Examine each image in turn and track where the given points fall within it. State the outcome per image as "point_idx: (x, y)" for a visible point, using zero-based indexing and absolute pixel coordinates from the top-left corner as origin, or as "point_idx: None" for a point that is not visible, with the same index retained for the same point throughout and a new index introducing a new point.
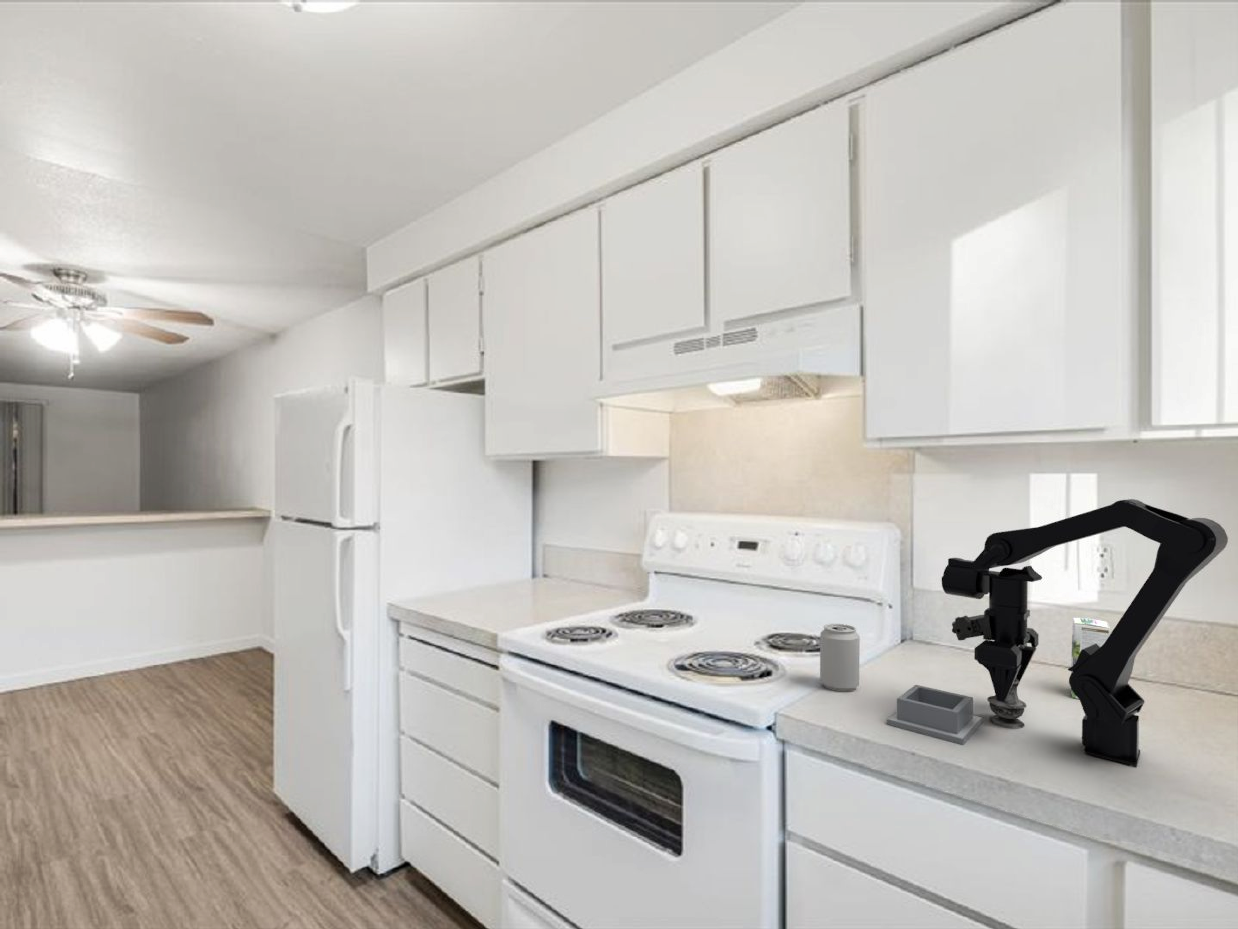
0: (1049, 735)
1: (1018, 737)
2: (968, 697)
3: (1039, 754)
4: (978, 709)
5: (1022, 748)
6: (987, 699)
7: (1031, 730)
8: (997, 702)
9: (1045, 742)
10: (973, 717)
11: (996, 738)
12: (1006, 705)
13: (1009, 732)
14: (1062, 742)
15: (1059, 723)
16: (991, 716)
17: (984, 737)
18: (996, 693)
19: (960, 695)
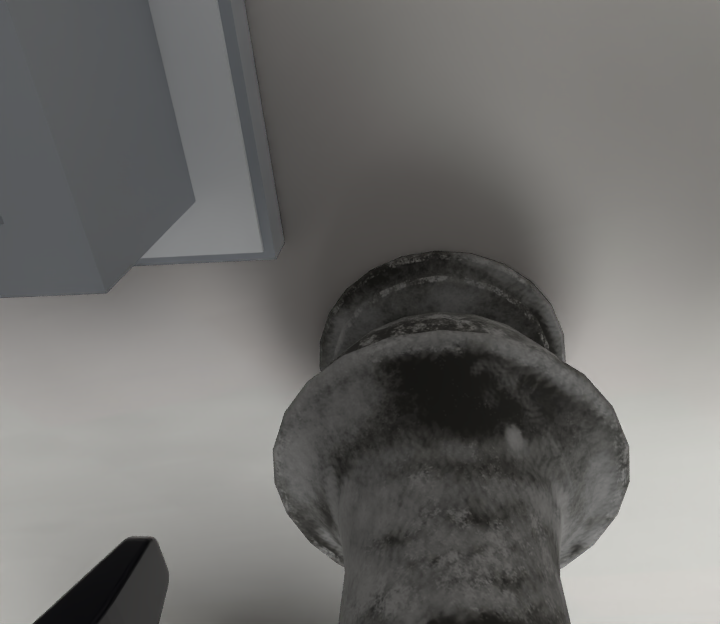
0: None
1: (218, 460)
2: (45, 256)
3: (82, 555)
4: (635, 103)
5: (76, 498)
6: (379, 345)
7: None
8: (312, 450)
9: (270, 555)
10: (205, 204)
11: (79, 380)
12: (304, 510)
13: (256, 411)
14: None
15: (667, 570)
16: (465, 264)
17: (21, 326)
18: (58, 609)
19: (19, 149)
